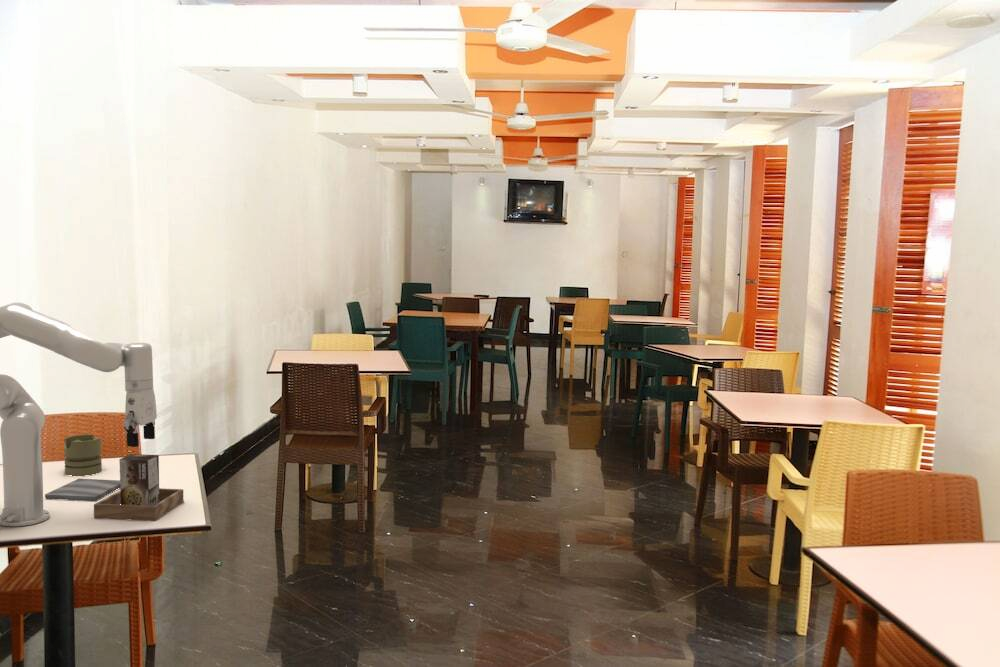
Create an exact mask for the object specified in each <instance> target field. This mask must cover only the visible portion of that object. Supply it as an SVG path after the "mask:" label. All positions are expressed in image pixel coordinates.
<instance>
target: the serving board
mask: <svg viewBox="0 0 1000 667" xmlns="http://www.w3.org/2000/svg"><path fill="white" fill-rule="evenodd" d="M118 488H120V479H116V480H115V479H99V478H98V479H97V478H95V479H93V478H77V479H74V480H73V481H71V482H68V483H67V484H64V485H62V486H60V487H58V488H56V489H53V490H52V491H49V492H47V493H45V494H44V499H45V498H46V499H45V500H52V499H68V500H67V501H75V500H87V501H86V502H98V501H99V500H101V499H103V498H105V497H106V496H105V495H107V494H109V493H111V492H112V493H114V492H115V491H114V490H116V489H118ZM118 490H119V489H118ZM113 491H114V492H113ZM116 491H117V490H116ZM112 493H111V494H112ZM109 495H110V494H109ZM104 496H105V497H104ZM107 496H108V495H107ZM102 497H103V498H102ZM100 498H101V499H100ZM98 499H99V500H98ZM97 500H98V501H97Z"/></svg>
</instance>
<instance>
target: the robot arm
mask: <svg viewBox="0 0 1000 667" xmlns="http://www.w3.org/2000/svg"><path fill="white" fill-rule="evenodd" d="M9 336H12V337H15V338H18V339H21V340H22V341H23V340H24V341H26V342H28V343H31V344H34V345H36V346H39V347H41V348H44V349H47V350H49V351H51V352H53V353H55V354H58V355H60V356H62V357H65V358H66V359H69V360H71V361H74V362H76V363H79V364H81V365H83V366H85V367H88V368H91V369H94V370H97V371H99V372H103V373H112V372H114V371H117V370H118V369H119V368H120V367H123V368H124V390H125V392H126V394H125V405H124V406H125V407H124V408H125V410H124V412H125V413H124V414H125V418H123V422H122V423H123V426H124V430H125V434H126V446H127V448H128V447H131V448H138V447H139V432H138V429H139V426H142V428H143V439H144V440H155V438H156V433H155V432H156V431H155V430H156V429H155V428H156V427H155V425H156V422H155V421H156V420H157V416H158V414H157V403H156V396H155V395H156V394H155V390H154V372H153V370H154V368H153V367H154V366H153V348H152V345H151V344H149V343H147V342H132V343H131V342H130V343H118V342H105V343H104V342H100V341H97V340H95V339H93V338H90V337H88V336H86V335H84V334H82V333H80V332H79V331H78V330H76V329H74V327H72V326H71V325H70V324H68V323H66V322H64V321H62V320H59V319H57V318H53V317H51V316H49V315H46V314H43V313H40V312H38V311H36V310H34V309H32V307H30V306H29V305H28V304H27V303H23V302H12V303H9V304H6V305H2V306H0V339H2V338H5V337H9ZM0 418H1V419H2V422H1V424H0V444H1V452H2V453H1V454H2V475H3V478H2V479H3V484H2V485H3V508H2V513H1V514H0V525H1V526H3V527H23V526H30V525H35V524H36V525H37V524H39V523H42V522H45V521H47V520H48V519H49V518H50V516H51V514H50V511H49V510H46V509H44V486H43V485H44V484H43V483H44V482H43V481H44V480H43V478H44V477H43V452H42V451H43V450H42V434H41V433H42V429H43V428H44V427H45V424H46V423H45V422H46V415H45V413H44V411H43V409H42V408H41V407H40V405H39V404H38V403H37V402H36V401H35V399H33V397H32V396H31V395H30V394H29V393H28V392H27V390H26V389H25V388H24V387H23V386H22V384H21V383H20V382H18V380H17V379H15V378H14V377H12V376H10V375H7V374H4V373H3V374H1V373H0Z"/></svg>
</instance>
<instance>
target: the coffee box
mask: <svg viewBox="0 0 1000 667" xmlns="http://www.w3.org/2000/svg"><path fill="white" fill-rule="evenodd" d="M159 457H160V456H159V454H143V453H142V454H138V453H136V454H135V453H132V454H131V453H130V454H128V455H125V456H123V457H122V458H119V461H118V462H119V480H120V489H119V491H121V505H143V506H154V505H156V504H158V503H159V502H160V501H159V488H160V461H159V459H160V458H159Z"/></svg>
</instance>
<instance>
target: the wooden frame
mask: <svg viewBox="0 0 1000 667" xmlns="http://www.w3.org/2000/svg"><path fill="white" fill-rule="evenodd" d="M159 501H160V502H159V503H158V504H156V505H154V506H143V505H120V504H121V491H120V490H117V492H116V491H115V492H113V493H111V494H109V495H108V496H106V497H104V498H102V499H100V500H98V501H97V502H96V503H94V504H93V519H103V518H114V519H113V520H125V519H131V520H133V521H147V520H151V522H154V521H155V522H156V521H157V520H159V519H160V518H162V517H164V516H165V515H166V514H168V513H169V512H171V511H173V510H174V509H175V508H177V507H179V506H180V505H181V504H183V503H184V489H182V488H160V487H159ZM131 520H130V521H131Z"/></svg>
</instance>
